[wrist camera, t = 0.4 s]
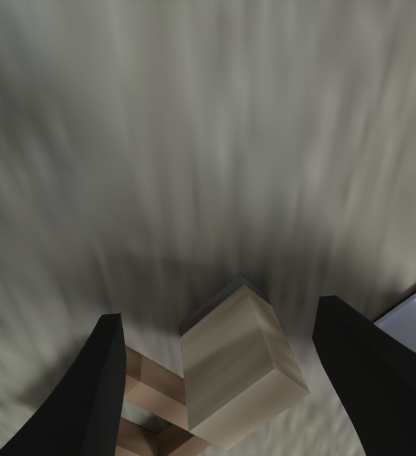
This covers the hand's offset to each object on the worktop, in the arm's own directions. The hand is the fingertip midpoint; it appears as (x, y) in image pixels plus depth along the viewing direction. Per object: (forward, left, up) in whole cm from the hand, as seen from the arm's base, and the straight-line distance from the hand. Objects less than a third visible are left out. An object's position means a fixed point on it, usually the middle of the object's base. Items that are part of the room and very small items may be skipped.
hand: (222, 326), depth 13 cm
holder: (-9, +15, -10) cm, 21 cm away
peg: (-7, +4, -10) cm, 13 cm away
